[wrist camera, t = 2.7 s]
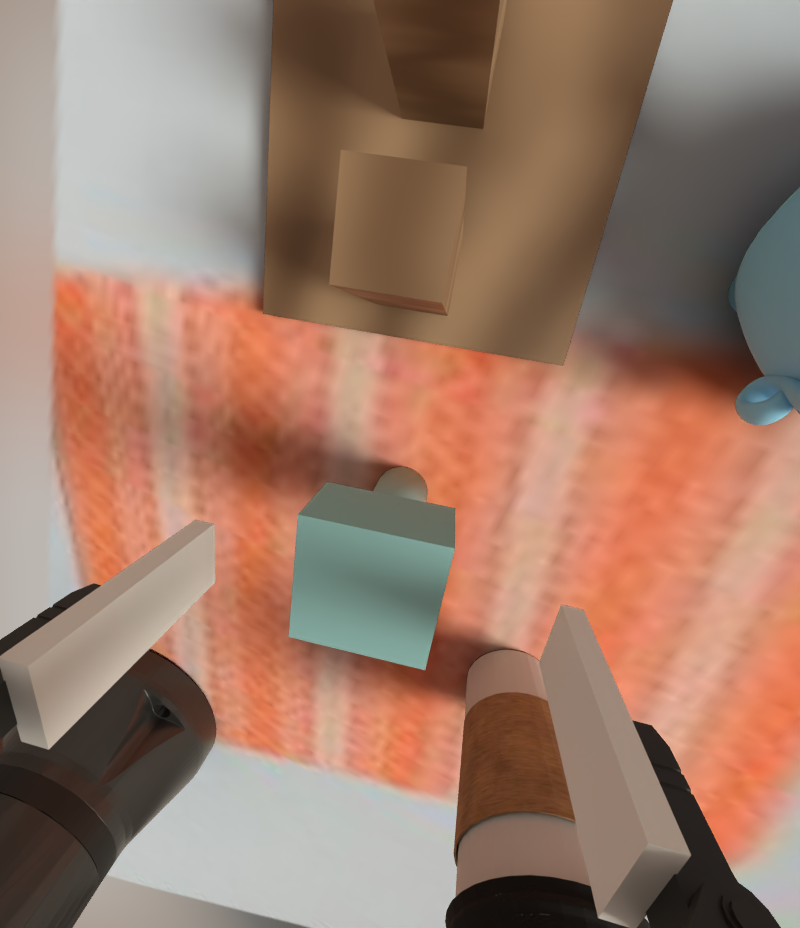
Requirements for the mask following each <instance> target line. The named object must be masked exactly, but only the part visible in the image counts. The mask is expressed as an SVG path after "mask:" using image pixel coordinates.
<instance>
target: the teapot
mask: <svg viewBox="0 0 800 928" xmlns="http://www.w3.org/2000/svg"><path fill="white" fill-rule="evenodd" d="M728 300H729V303H730V306H731V307H732V309H733V310H735V311H736V312H737V315H738V318H739V322H740V325H741V328H742V331H743V334H744V337H745V339H746V342H747V344H748V347H749V349H750V352H751V354H752V355H753V357H754V359H755V361H756V363H757V365H758V367H759V369H760V370H761V372H762V373H763V375H764V376H763V377H760V378H758V379H756V380H754V381H753V382H751V383H750V384H748V385H747V386H746V387H745V388H744V389H743V390H742V391H741V392H740V394H739V395H738V396H737V398H736V401H735V407H736V411H737V413H738V415H739V416H740V417H741V419H743V420H744V421H746V422H748V423H750V424H753V425H758V426H761V425H768V424H771V423H774V422H776V421H778V420H780V419H781V418H783V417H784V416H786V415H787V414H788V413H789V412H790V411H791V410H792V408H793V407H794V408H795V409H796V410H797V411H798V412H799V413H800V187H799V188H798V189H797V190H796V191H795V192H794V193H793V194H792V195H791V196H790V197H789V198H788V199H787V200H786V201H785V202H784V203H783V204H782V205H781V207H780V208H779V209H778V210H777V211H776V212H775V213H774V215H773V216H772V217H771V218H770V219H769V220H768V221H767V223H766V224H765V225H764V226H763V227H762V228H761V229H760V231H759V233H758V234H757V236H756V237H755V239H754V240H753V242H752V243H751V245H750V246H749V248H748V250H747V251H746V253H745V256H744V258H743V260H742V263H741V265H740V267H739V271H738V275H737V276H736V277H735V278H734V280H733V282H732V283H731V285H730V288H729V293H728Z"/></svg>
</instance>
